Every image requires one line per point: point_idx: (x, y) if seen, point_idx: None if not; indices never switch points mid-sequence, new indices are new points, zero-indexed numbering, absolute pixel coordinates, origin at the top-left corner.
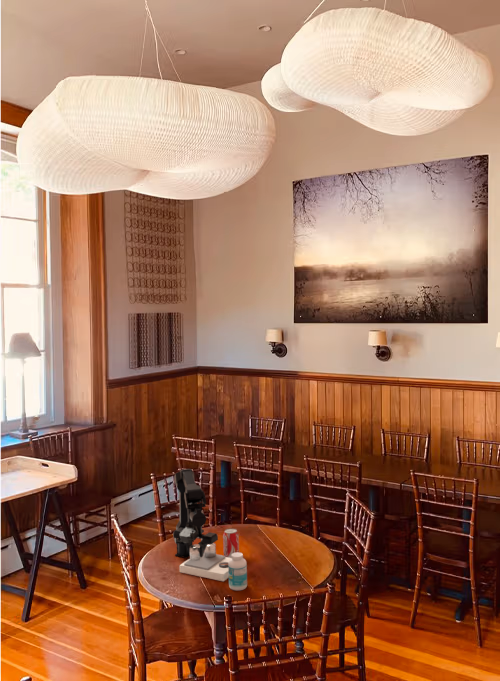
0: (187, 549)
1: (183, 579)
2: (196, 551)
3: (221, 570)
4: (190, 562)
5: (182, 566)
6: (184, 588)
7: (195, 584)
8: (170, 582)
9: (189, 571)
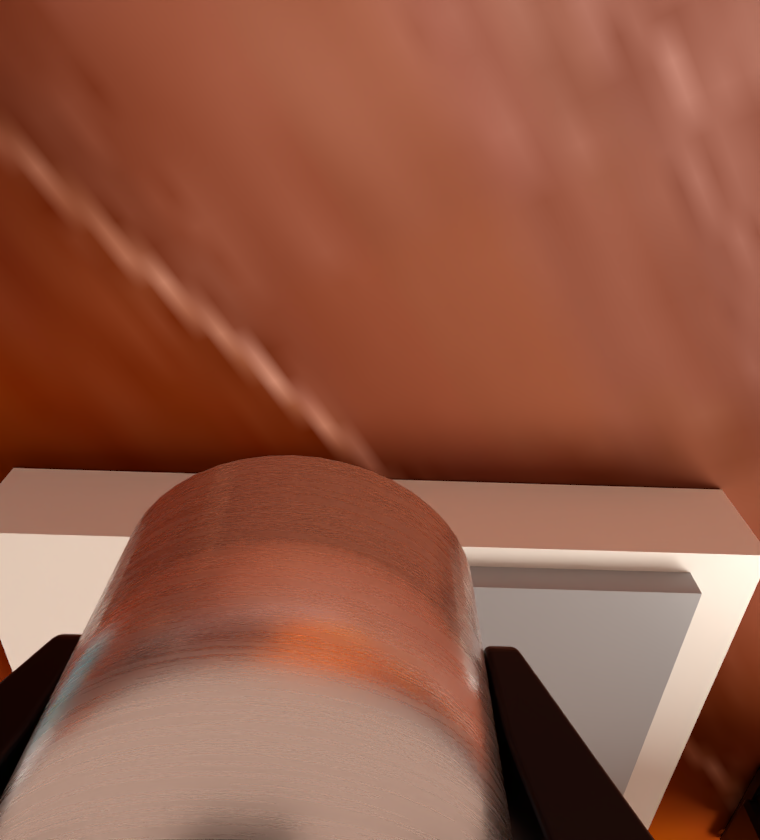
0: (629, 826)
1: (573, 324)
2: (28, 789)
3: (82, 613)
4: (616, 646)
5: (708, 547)
6: (395, 22)
7: (305, 246)
8: (749, 144)
9: (567, 508)
